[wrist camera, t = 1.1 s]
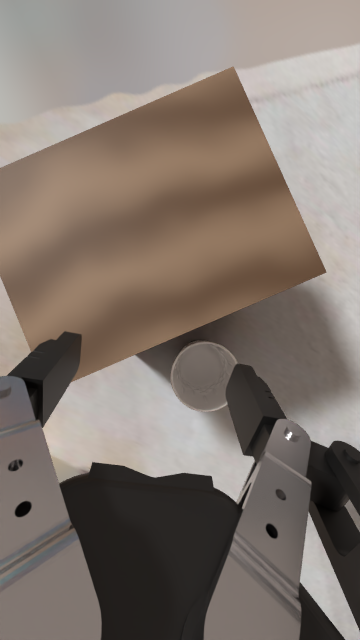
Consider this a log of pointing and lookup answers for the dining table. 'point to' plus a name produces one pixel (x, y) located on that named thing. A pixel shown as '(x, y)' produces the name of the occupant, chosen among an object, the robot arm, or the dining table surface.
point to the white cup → (202, 375)
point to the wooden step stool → (150, 225)
